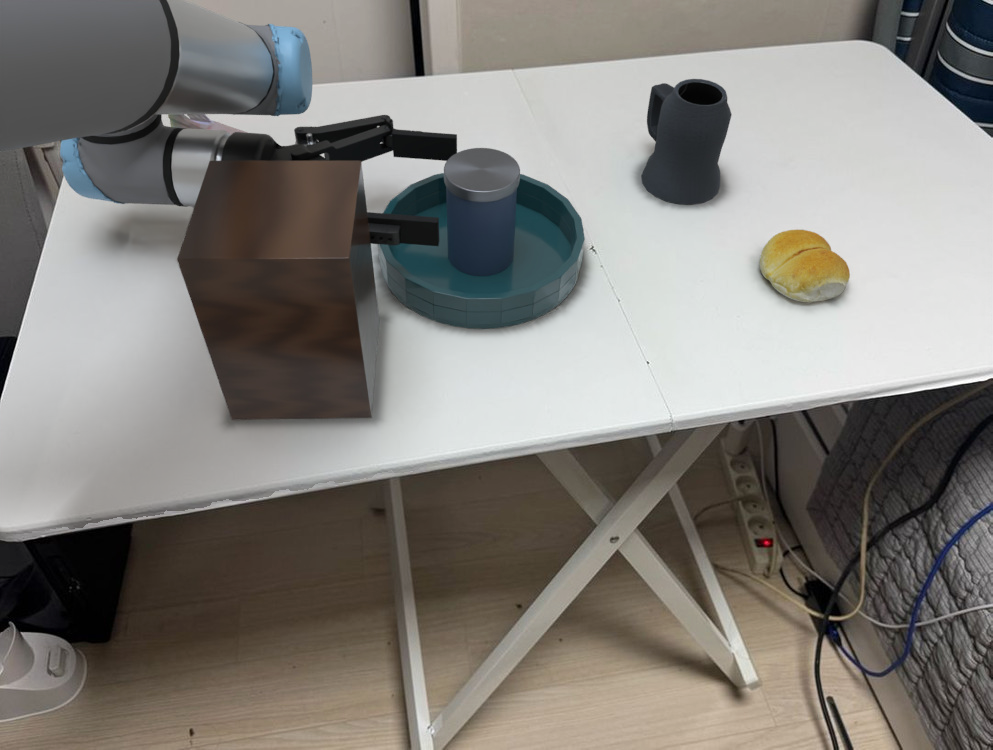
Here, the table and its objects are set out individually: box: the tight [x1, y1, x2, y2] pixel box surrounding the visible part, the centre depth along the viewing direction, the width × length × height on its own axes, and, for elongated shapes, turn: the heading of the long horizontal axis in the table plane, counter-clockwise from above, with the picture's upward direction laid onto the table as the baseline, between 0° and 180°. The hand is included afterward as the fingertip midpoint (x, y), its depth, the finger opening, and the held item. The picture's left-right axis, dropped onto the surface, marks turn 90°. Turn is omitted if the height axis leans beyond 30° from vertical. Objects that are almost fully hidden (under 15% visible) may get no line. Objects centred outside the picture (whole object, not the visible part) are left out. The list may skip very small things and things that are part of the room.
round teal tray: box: [377, 172, 586, 330], centre depth 85 cm, size 21×21×4 cm
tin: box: [443, 147, 521, 276], centre depth 82 cm, size 7×7×10 cm
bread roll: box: [758, 229, 851, 303], centre depth 84 cm, size 8×9×4 cm
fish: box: [167, 114, 248, 135], centre depth 96 cm, size 3×14×5 cm, turn 63°
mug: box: [640, 78, 733, 206], centre depth 93 cm, size 12×9×11 cm
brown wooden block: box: [176, 161, 380, 421], centre depth 69 cm, size 12×12×18 cm
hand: (448, 187), depth 80 cm, fingers open, 13 cm apart
